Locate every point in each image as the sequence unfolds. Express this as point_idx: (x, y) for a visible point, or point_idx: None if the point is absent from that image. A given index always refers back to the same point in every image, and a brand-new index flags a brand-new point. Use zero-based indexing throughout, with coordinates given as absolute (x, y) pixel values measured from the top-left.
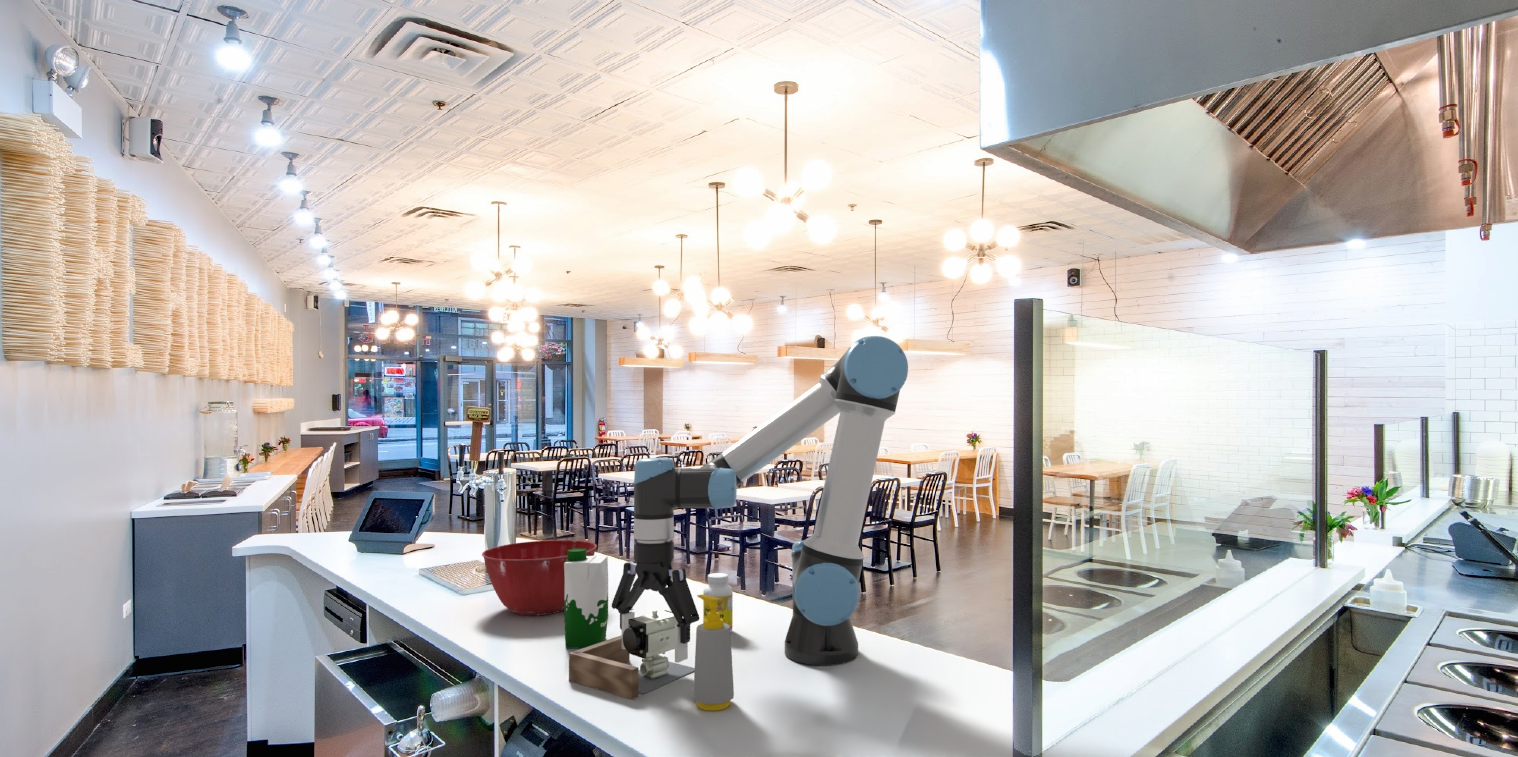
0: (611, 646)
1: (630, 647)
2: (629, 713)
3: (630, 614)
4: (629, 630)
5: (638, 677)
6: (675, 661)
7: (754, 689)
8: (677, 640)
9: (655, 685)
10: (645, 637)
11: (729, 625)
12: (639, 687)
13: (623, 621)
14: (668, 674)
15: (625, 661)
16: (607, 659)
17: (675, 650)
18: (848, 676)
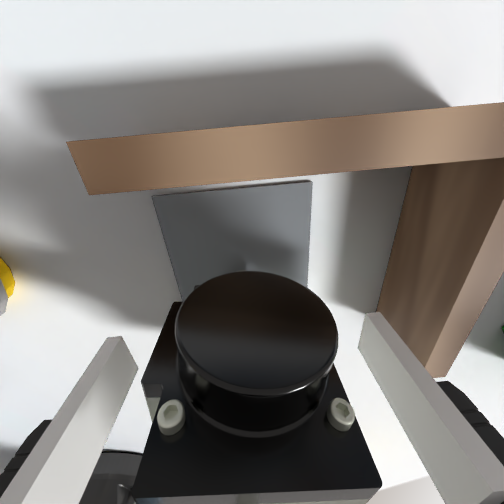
0: (432, 307)
1: (243, 284)
2: (5, 26)
3: (460, 497)
4: (262, 372)
5: (267, 264)
6: (117, 337)
7: (20, 364)
8: (50, 425)
9: (182, 256)
10: (146, 370)
11: None
12: (202, 220)
13: (459, 431)
14: None
15: (378, 309)
16: (316, 171)
17: (95, 374)
18: (2, 455)
